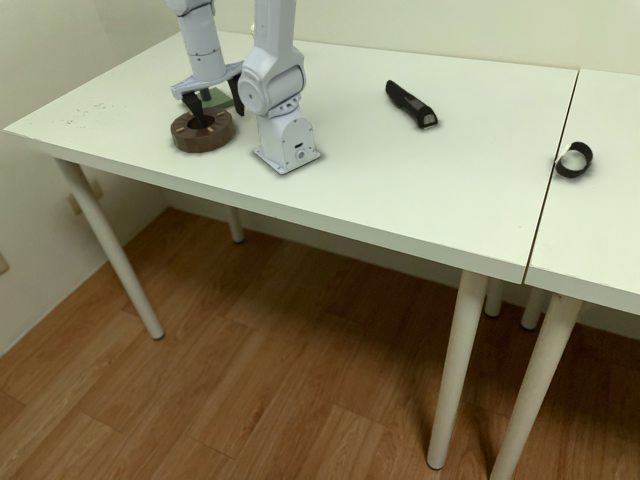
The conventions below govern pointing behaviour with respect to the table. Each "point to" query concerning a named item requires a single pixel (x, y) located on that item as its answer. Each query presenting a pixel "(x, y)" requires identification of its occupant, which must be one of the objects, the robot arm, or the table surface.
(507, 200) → the table surface
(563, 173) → the watch
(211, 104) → the rack
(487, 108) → the table surface
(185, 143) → the clock ring
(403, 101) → the electric trimmer
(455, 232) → the table surface
